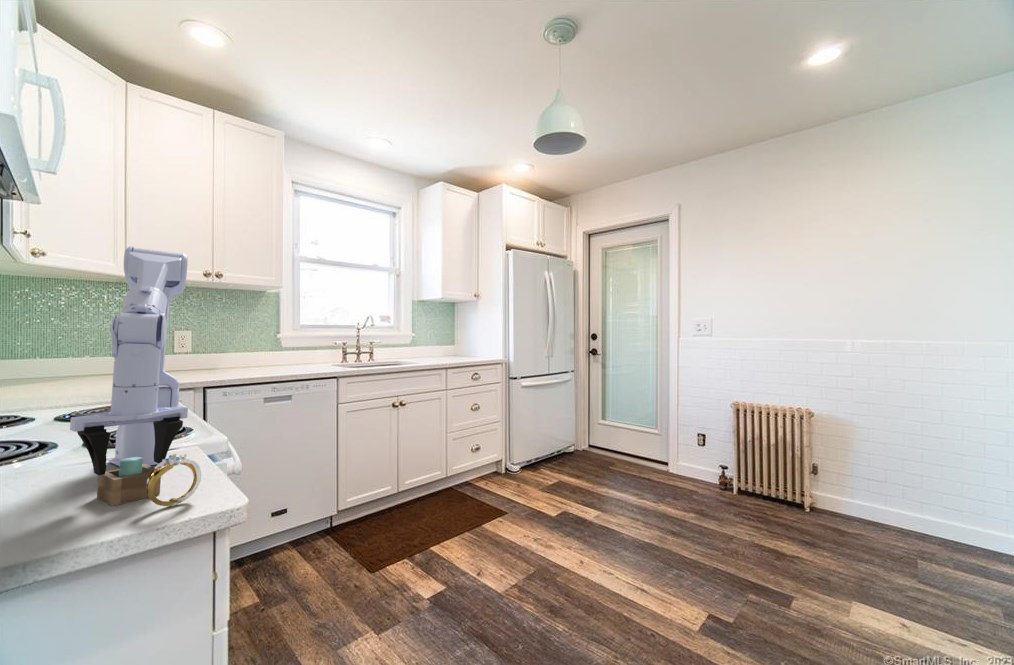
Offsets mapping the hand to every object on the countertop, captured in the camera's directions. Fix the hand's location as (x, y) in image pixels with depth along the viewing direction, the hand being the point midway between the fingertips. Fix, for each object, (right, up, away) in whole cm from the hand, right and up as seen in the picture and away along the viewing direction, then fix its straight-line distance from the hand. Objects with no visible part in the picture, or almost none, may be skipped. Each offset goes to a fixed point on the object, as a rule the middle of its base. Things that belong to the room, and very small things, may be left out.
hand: (130, 467), depth 68 cm
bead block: (0, -5, 0) cm, 5 cm away
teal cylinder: (0, -5, 0) cm, 5 cm away
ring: (+10, -5, -3) cm, 11 cm away
